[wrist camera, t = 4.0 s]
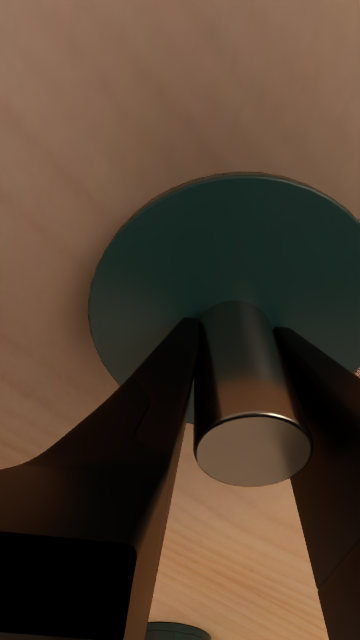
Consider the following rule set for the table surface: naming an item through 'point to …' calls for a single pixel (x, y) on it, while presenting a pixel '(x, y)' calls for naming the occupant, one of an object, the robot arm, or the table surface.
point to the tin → (174, 632)
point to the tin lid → (234, 308)
